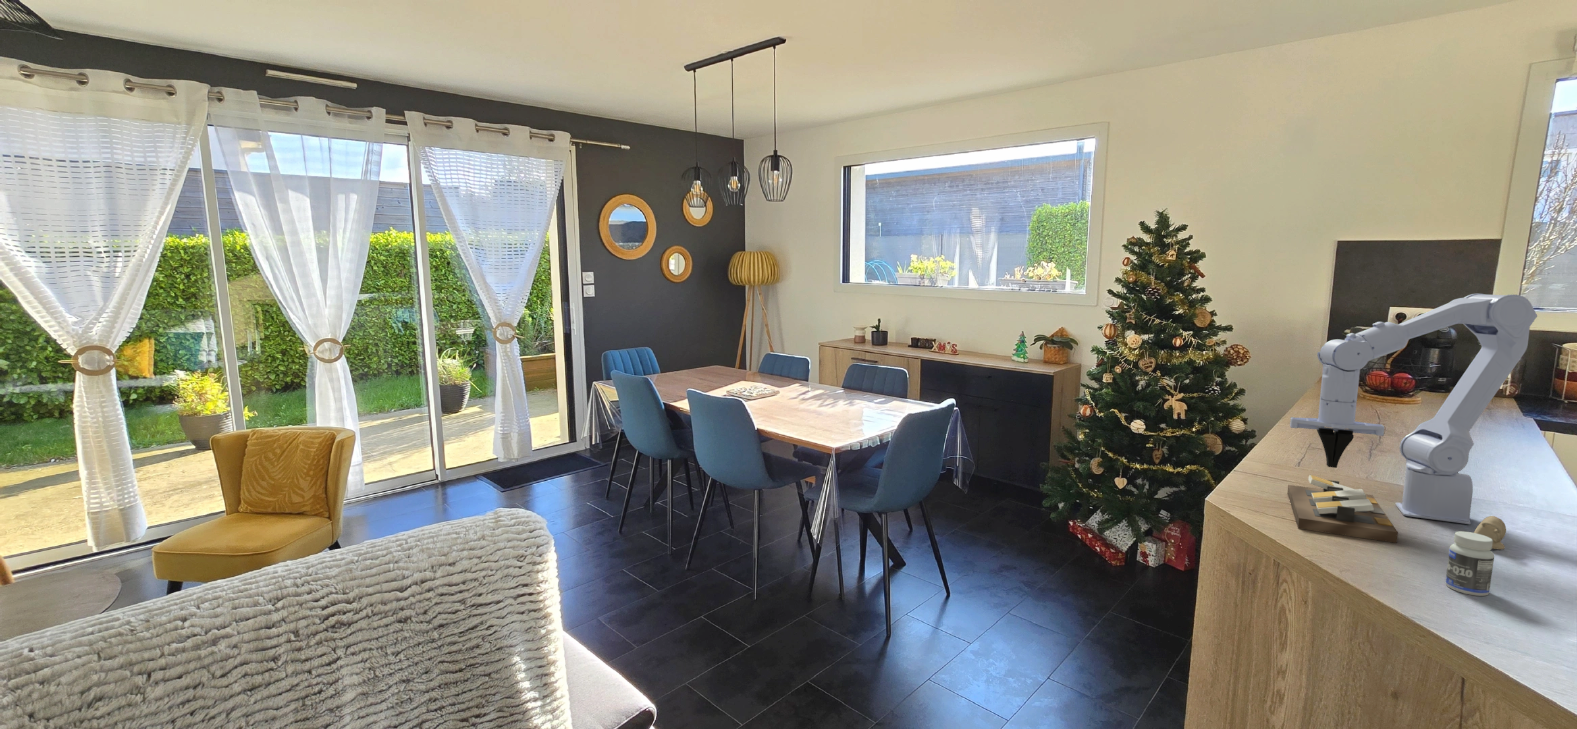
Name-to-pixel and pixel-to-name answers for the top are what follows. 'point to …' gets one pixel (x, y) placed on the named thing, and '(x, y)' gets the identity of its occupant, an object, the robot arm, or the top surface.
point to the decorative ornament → (1492, 530)
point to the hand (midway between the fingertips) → (1331, 466)
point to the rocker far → (1325, 483)
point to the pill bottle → (1470, 564)
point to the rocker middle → (1327, 496)
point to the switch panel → (1340, 516)
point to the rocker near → (1344, 505)
